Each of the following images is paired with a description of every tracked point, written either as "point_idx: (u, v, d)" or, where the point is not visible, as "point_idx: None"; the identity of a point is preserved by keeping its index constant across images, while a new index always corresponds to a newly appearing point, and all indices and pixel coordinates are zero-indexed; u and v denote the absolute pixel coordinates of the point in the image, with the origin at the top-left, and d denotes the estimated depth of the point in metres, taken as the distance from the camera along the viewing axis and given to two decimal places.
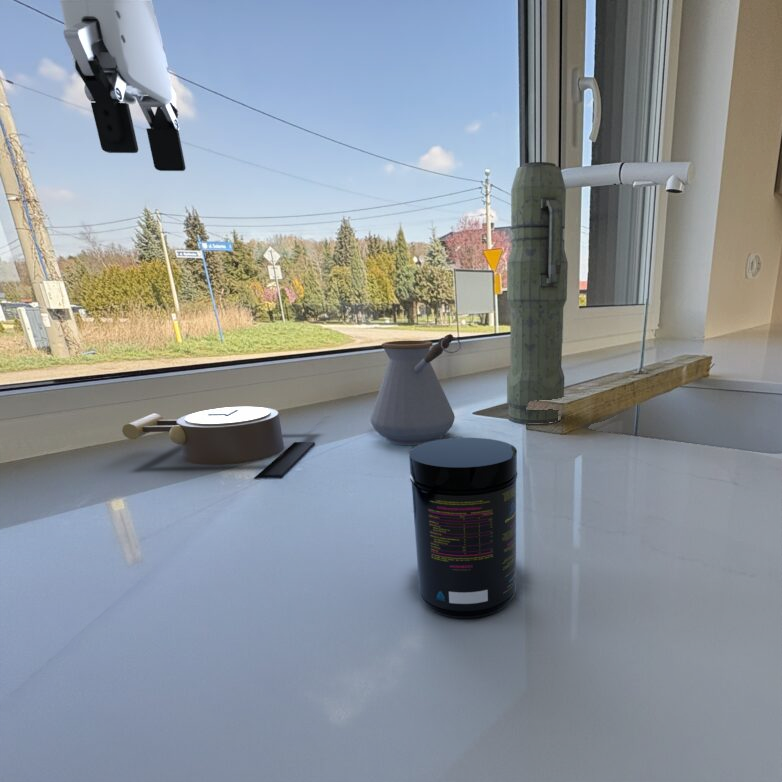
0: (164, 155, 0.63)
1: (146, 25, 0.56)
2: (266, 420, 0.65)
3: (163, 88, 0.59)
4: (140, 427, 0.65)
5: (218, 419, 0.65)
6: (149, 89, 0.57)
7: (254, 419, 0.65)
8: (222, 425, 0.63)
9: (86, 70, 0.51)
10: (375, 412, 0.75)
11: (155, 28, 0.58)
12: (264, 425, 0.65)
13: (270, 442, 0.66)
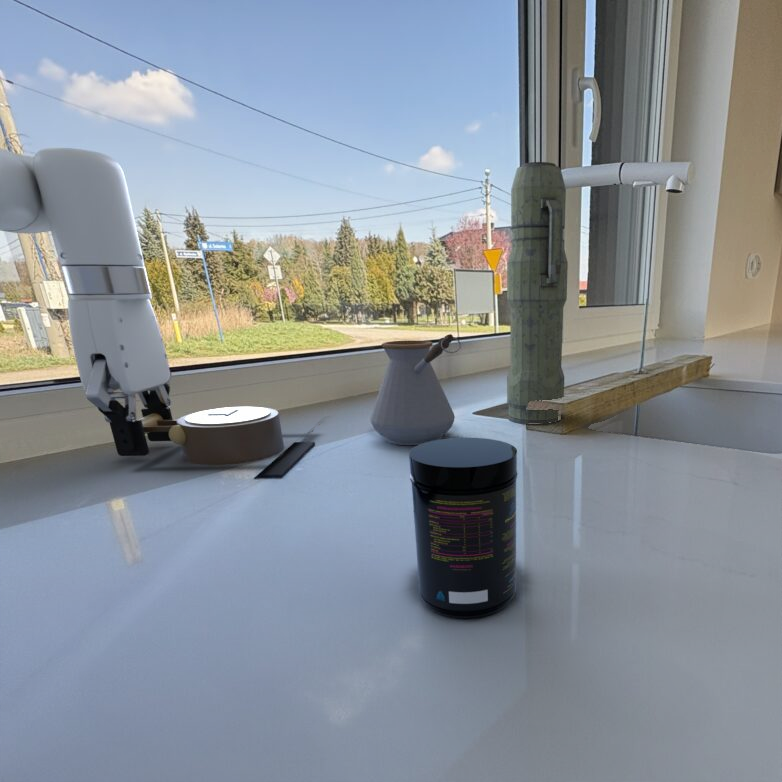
0: None
1: (146, 336, 0.64)
2: (266, 420, 0.65)
3: (162, 376, 0.67)
4: None
5: (218, 419, 0.65)
6: (149, 387, 0.65)
7: (254, 419, 0.65)
8: (222, 425, 0.63)
9: (107, 410, 0.60)
10: (375, 412, 0.75)
11: (154, 330, 0.65)
12: (264, 425, 0.65)
13: (270, 442, 0.66)
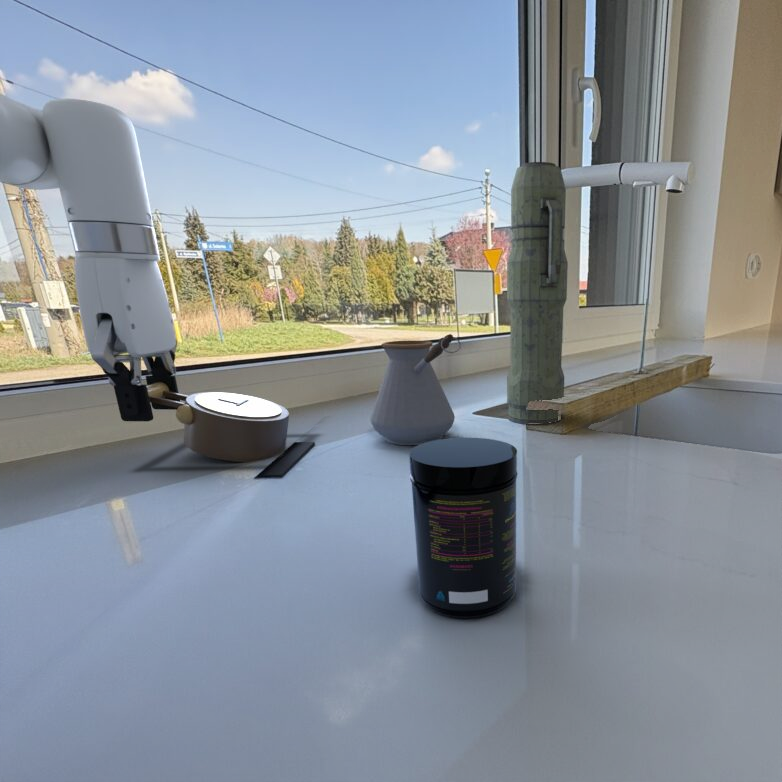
0: None
1: (153, 299, 0.62)
2: (277, 420, 0.65)
3: (168, 341, 0.66)
4: None
5: (229, 408, 0.64)
6: (155, 352, 0.63)
7: (265, 417, 0.65)
8: (233, 417, 0.62)
9: (112, 372, 0.59)
10: (375, 412, 0.75)
11: (161, 294, 0.64)
12: (274, 425, 0.65)
13: (275, 442, 0.66)
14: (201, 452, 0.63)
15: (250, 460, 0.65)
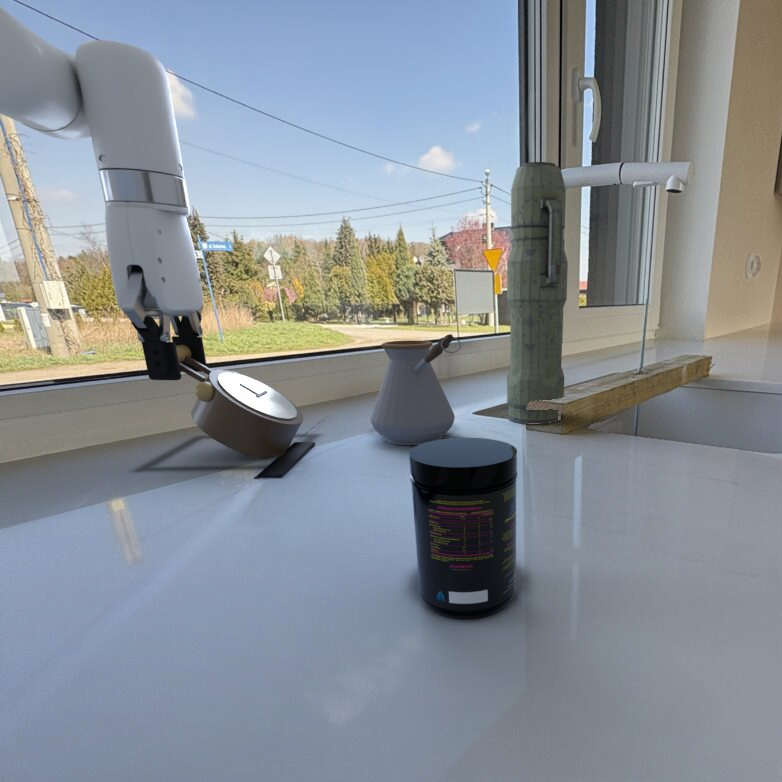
0: None
1: (183, 255, 0.61)
2: (292, 425, 0.66)
3: (196, 300, 0.64)
4: None
5: (250, 399, 0.64)
6: (183, 309, 0.62)
7: (282, 418, 0.65)
8: (253, 411, 0.62)
9: (142, 327, 0.58)
10: (375, 412, 0.75)
11: (190, 251, 0.63)
12: (287, 428, 0.65)
13: (282, 443, 0.67)
14: (207, 432, 0.62)
15: (253, 454, 0.64)
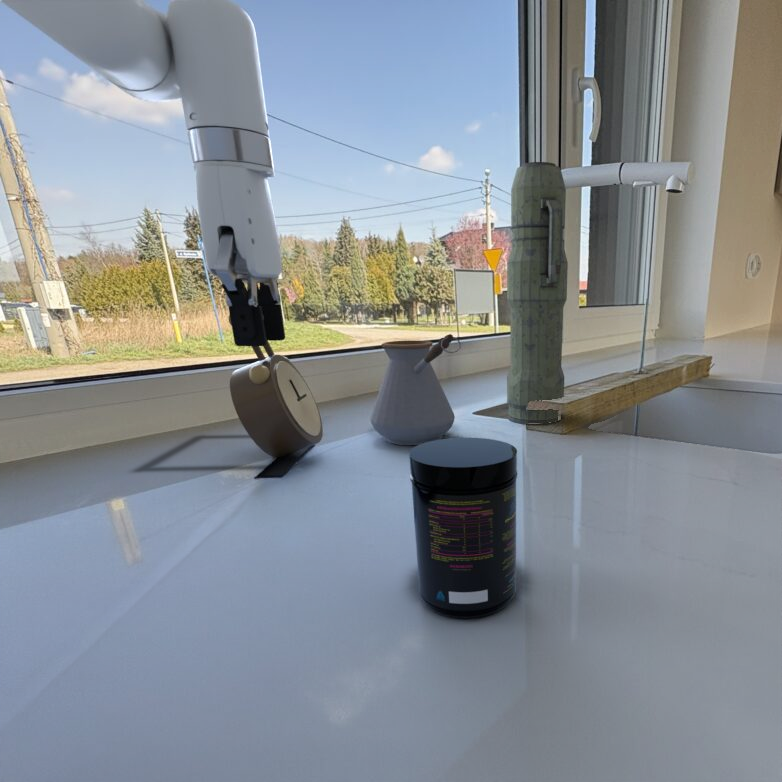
0: (266, 328, 0.66)
1: (267, 218, 0.60)
2: (313, 443, 0.67)
3: (276, 266, 0.63)
4: None
5: (292, 402, 0.64)
6: (267, 274, 0.61)
7: (309, 434, 0.66)
8: (291, 417, 0.63)
9: (232, 289, 0.57)
10: (375, 412, 0.75)
11: (272, 215, 0.62)
12: (307, 444, 0.66)
13: (293, 451, 0.67)
14: (237, 408, 0.62)
15: (262, 448, 0.64)
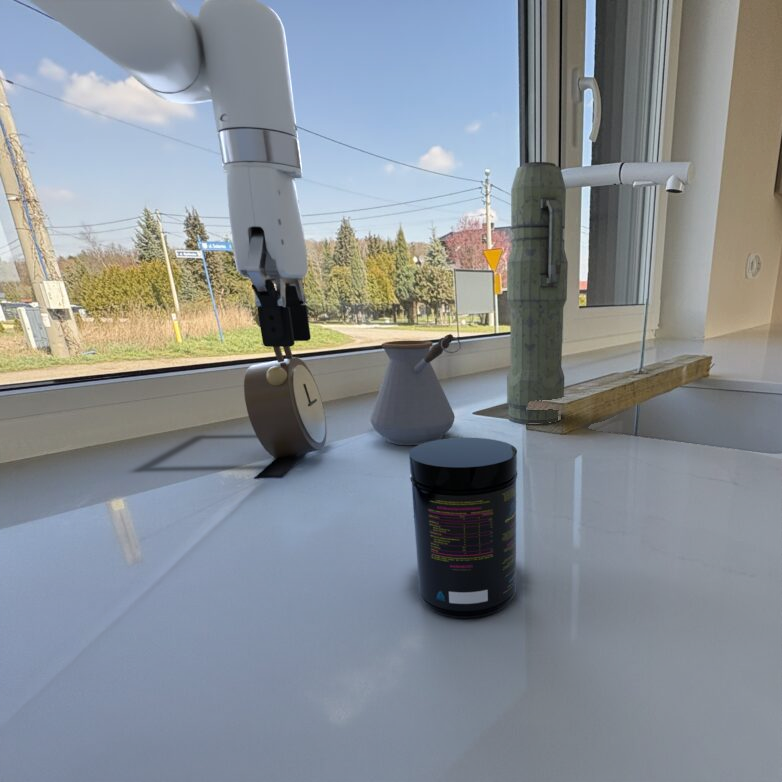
0: (292, 328, 0.66)
1: (295, 218, 0.60)
2: (316, 449, 0.67)
3: (303, 266, 0.64)
4: None
5: (304, 407, 0.65)
6: (295, 274, 0.61)
7: (314, 440, 0.66)
8: (300, 423, 0.63)
9: (262, 290, 0.57)
10: (375, 412, 0.75)
11: (299, 215, 0.62)
12: (311, 450, 0.67)
13: (294, 454, 0.67)
14: (248, 405, 0.62)
15: (266, 447, 0.64)
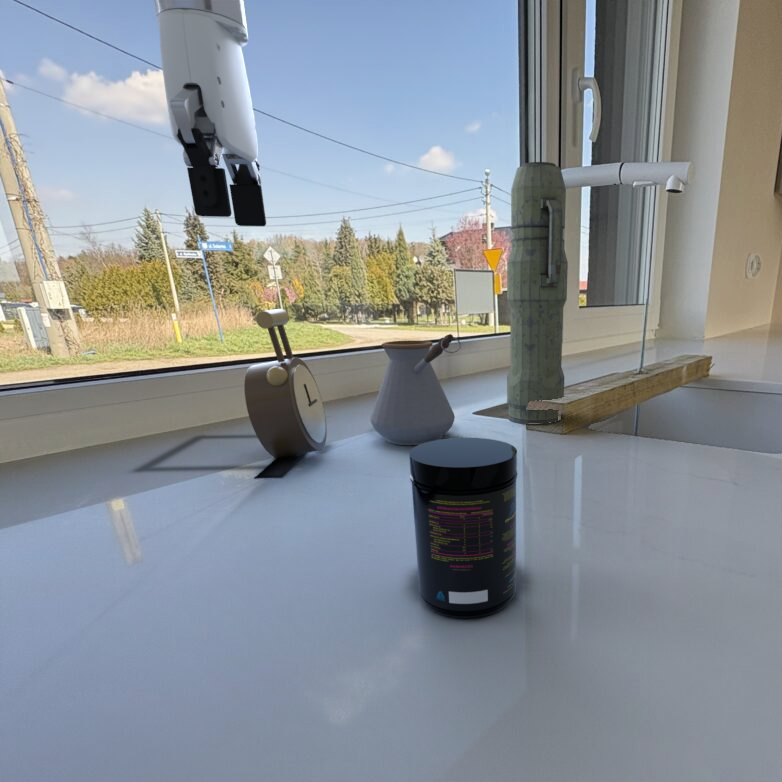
0: (246, 211, 0.62)
1: (241, 87, 0.55)
2: (316, 449, 0.67)
3: (252, 147, 0.59)
4: (271, 326, 0.62)
5: (304, 407, 0.65)
6: (241, 150, 0.56)
7: (314, 440, 0.66)
8: (300, 423, 0.63)
9: (188, 138, 0.50)
10: (375, 412, 0.75)
11: (247, 88, 0.57)
12: (311, 450, 0.67)
13: (295, 454, 0.67)
14: (248, 405, 0.62)
15: (266, 447, 0.64)
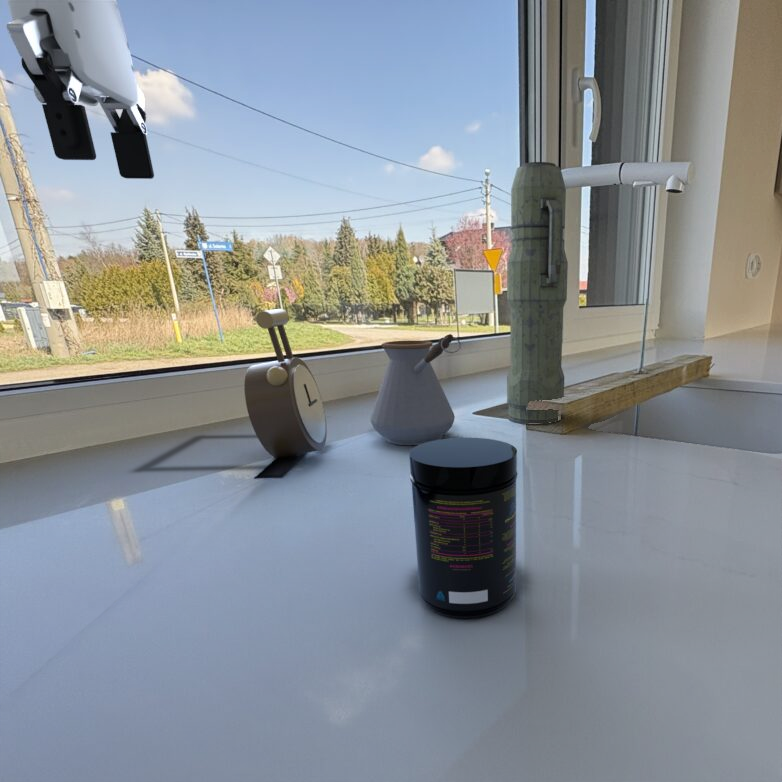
0: (130, 161, 0.58)
1: (106, 19, 0.51)
2: (316, 449, 0.67)
3: (127, 89, 0.54)
4: (271, 326, 0.62)
5: (304, 407, 0.65)
6: (110, 90, 0.52)
7: (314, 440, 0.66)
8: (300, 423, 0.63)
9: (34, 68, 0.45)
10: (375, 412, 0.75)
11: (117, 23, 0.53)
12: (311, 450, 0.67)
13: (295, 454, 0.67)
14: (248, 405, 0.62)
15: (266, 447, 0.64)
